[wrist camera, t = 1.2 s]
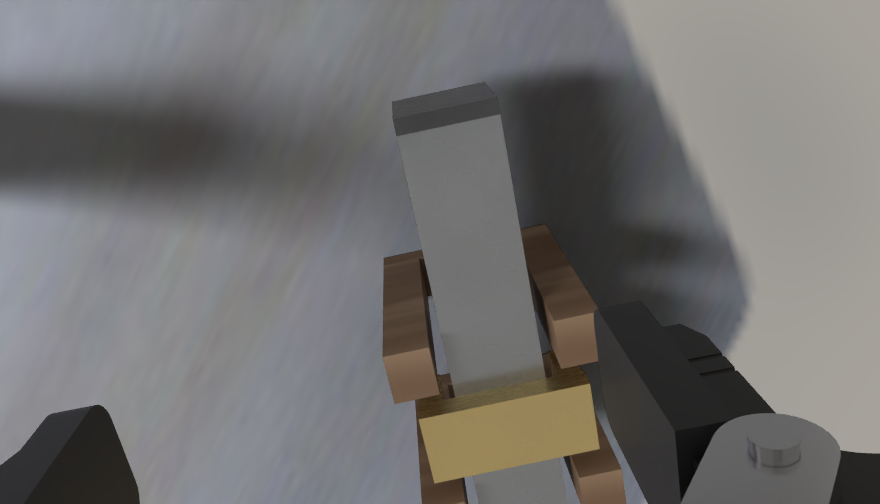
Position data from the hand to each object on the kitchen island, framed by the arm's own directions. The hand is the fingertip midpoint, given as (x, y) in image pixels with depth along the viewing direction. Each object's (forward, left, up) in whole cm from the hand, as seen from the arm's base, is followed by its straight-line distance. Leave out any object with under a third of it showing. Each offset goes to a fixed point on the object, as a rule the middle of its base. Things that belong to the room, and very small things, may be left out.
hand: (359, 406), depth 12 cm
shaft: (+7, +3, -18) cm, 20 cm away
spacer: (+11, +3, -17) cm, 20 cm away
